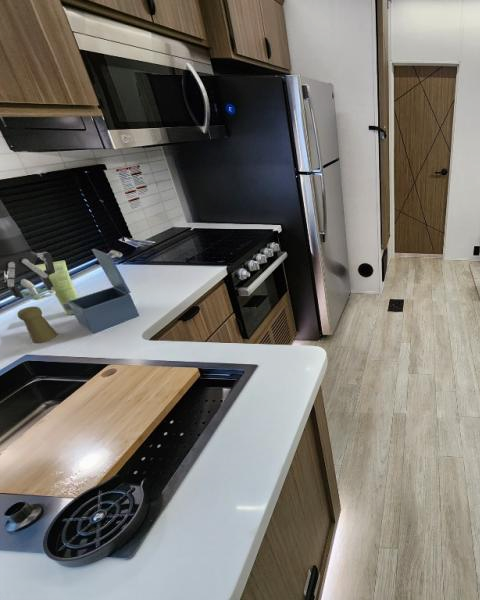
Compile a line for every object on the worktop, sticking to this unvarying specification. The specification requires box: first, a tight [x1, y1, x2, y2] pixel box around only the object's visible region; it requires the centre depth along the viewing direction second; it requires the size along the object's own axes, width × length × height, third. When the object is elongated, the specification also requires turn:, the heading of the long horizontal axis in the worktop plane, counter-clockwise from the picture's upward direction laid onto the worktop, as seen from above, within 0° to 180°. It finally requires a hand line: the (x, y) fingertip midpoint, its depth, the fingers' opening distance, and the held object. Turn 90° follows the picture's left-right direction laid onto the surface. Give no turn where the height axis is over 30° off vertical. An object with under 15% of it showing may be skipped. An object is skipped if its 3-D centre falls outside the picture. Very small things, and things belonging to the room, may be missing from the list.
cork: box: [17, 306, 58, 344], centre depth 106 cm, size 6×6×11 cm
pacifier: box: [20, 278, 56, 301], centre depth 93 cm, size 7×6×6 cm
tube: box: [34, 260, 79, 315], centre depth 119 cm, size 6×5×20 cm
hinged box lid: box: [91, 248, 131, 294], centre depth 117 cm, size 14×13×5 cm
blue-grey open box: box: [67, 286, 140, 335], centre depth 116 cm, size 14×13×9 cm
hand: (35, 293), depth 93 cm, fingers closed on pacifier, 5 cm apart
